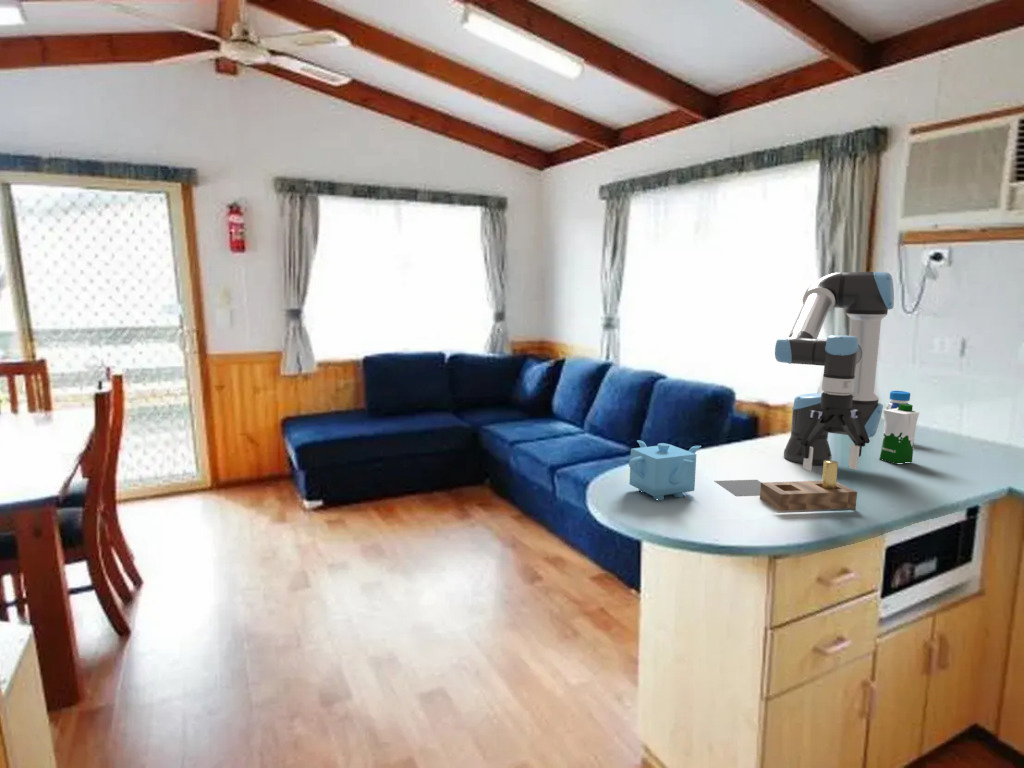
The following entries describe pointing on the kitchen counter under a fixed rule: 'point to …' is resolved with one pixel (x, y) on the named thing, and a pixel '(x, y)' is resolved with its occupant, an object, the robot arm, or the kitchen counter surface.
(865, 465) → the kitchen counter surface
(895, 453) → the milk carton
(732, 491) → the mat
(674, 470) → the teakettle
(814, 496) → the hole block
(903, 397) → the beverage bottle
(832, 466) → the peg
